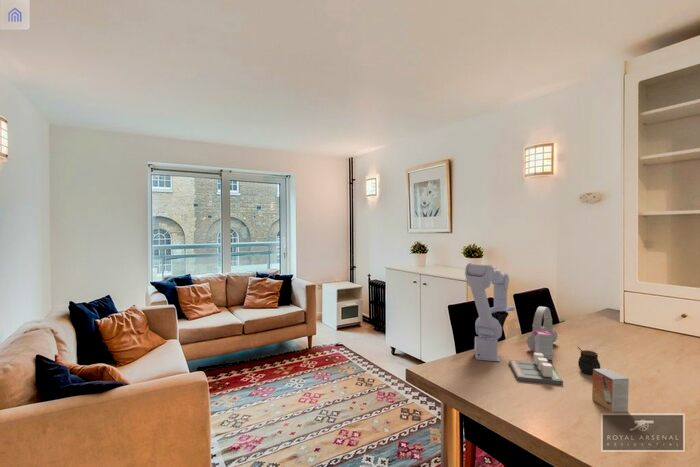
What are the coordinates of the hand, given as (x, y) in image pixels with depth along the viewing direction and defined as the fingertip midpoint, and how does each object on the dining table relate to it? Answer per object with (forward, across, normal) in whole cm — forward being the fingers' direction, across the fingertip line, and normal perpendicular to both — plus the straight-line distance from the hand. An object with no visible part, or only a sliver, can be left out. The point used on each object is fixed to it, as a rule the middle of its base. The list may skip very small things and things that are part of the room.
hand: (500, 327), depth 163 cm
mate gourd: (+10, +14, -32) cm, 37 cm away
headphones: (+11, +21, -4) cm, 24 cm away
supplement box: (+11, +9, -15) cm, 21 cm away
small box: (+10, -4, -53) cm, 54 cm away
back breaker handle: (+8, -1, -23) cm, 25 cm away
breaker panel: (+10, -7, -26) cm, 29 cm away
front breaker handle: (+8, -7, -33) cm, 34 cm away
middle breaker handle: (+8, -4, -28) cm, 29 cm away
